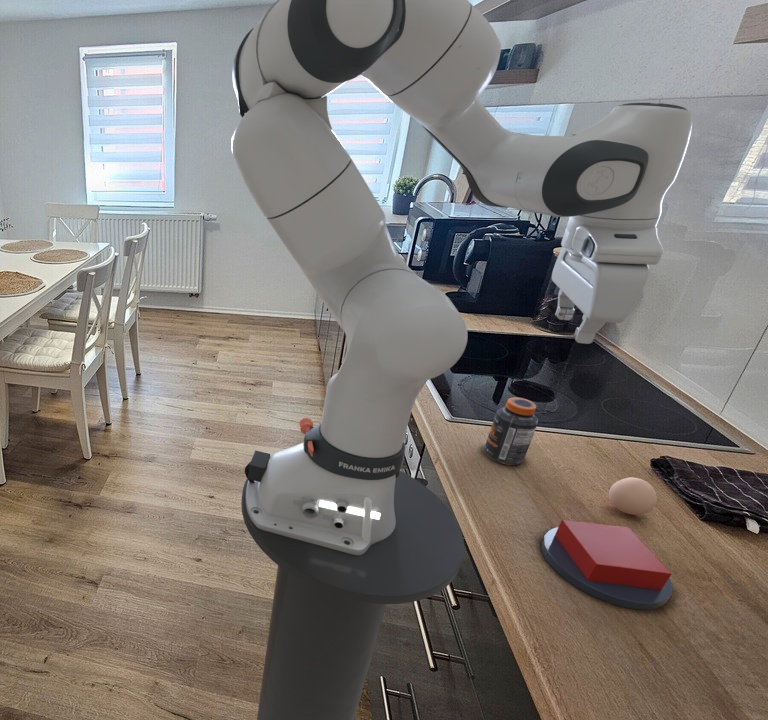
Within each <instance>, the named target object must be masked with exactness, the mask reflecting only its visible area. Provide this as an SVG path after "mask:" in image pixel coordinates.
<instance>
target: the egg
mask: <svg viewBox="0 0 768 720" xmlns="http://www.w3.org/2000/svg"><path fill="white" fill-rule="evenodd" d="M608 498H609V501H610V502H611V504H612V505H613V506H614V507H615V508H616V509H617V510H619V511H620V512H622V513H624V514H628V515H633V516H642V515H646V514H648V513H650V512H652V511H653V510H654V508H655V507H656V505H657V502H658V496H657V492H656V490H655V488H654V487H653V485H652V484H650V482H648V481H646V480H644V479H642V478H639V477H633V476H632V477H625V478H621V479H620V480H617V481H615V482H614V483H613V484H612V485H611V487H610V489H609V491H608Z"/></svg>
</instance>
